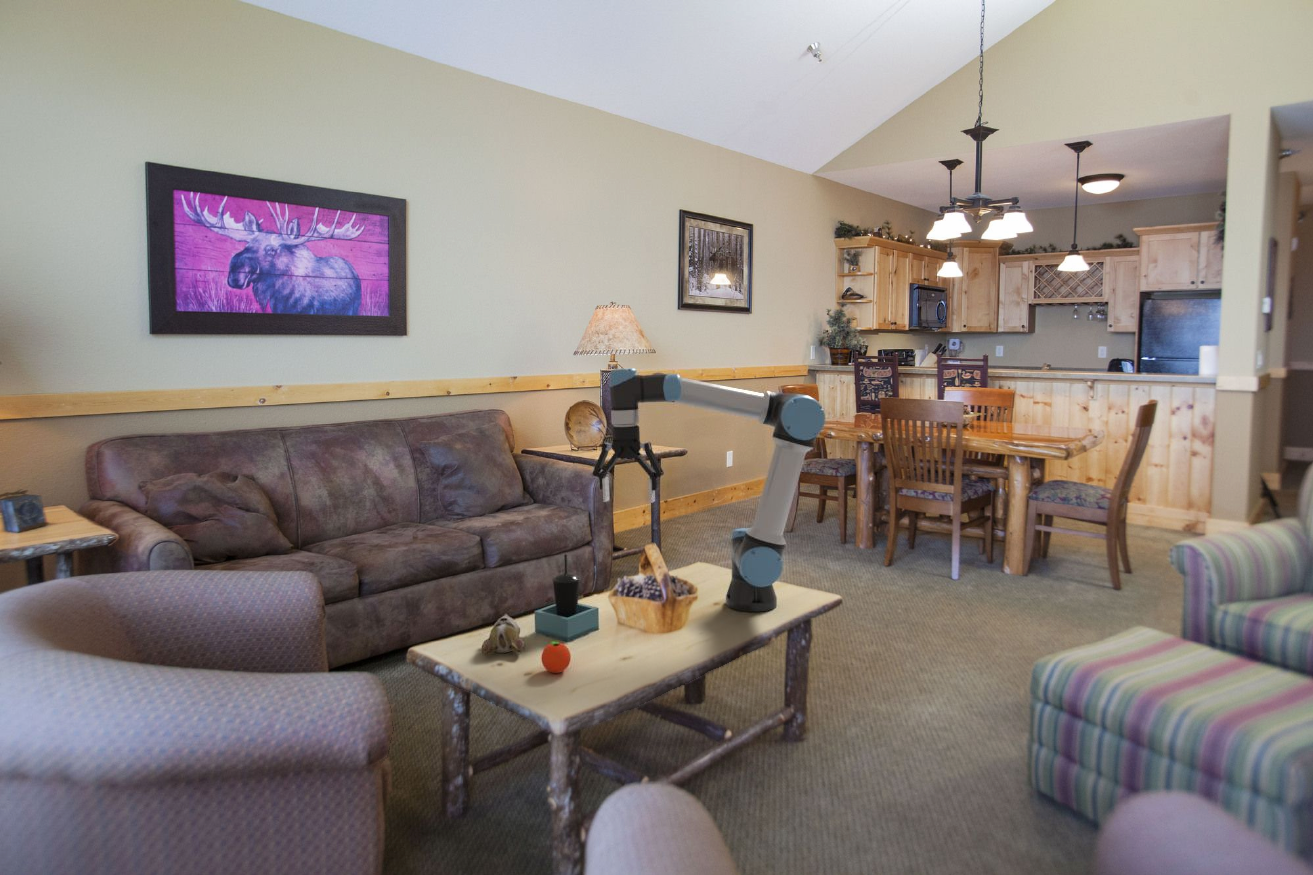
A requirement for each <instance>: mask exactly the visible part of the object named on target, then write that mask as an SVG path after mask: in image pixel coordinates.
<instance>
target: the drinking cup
mask: <svg viewBox="0 0 1313 875" xmlns="http://www.w3.org/2000/svg"><path fill="white" fill-rule="evenodd" d="M563 557H564V561H563V562H564V572H560V573H558V574H557V575H554V576H552V578H551V581H552V582H553V583H552V584H553V585H552V586H553V592H554V604H556V611H557V615H559V616H563V617H566V618H568V617H571V616H573V615H576V614H577V606H578V603H579V590H580V580H581V576H580V575H578V574H575V573H573V572H568V554H564V556H563Z"/></svg>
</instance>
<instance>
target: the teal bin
mask: <svg viewBox="0 0 1313 875" xmlns="http://www.w3.org/2000/svg"><path fill="white" fill-rule="evenodd" d="M599 613H600V612H599V607H597V606H592V605H587V604H585V603H584V604H583V603H579V602H578V606H577V614H576V615H573V616H571V617H568V618H566V617H563V616H559V615H557V611H556V603H554V604H551V605H548V606H545V607H543V608H540V609H537V610H534V633H535V634H538V635H542V636H545V637H549V638H552V639H556V640H559V641H563V642H566V643H570V642H572V641H575V640H577V639H579V638H583V636H586V635H588V634H591V633H594V632H595V631H598V630H600V622H599V619H600V618H599V617H600V616H599V615H600V614H599Z"/></svg>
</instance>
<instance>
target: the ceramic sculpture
mask: <svg viewBox="0 0 1313 875" xmlns="http://www.w3.org/2000/svg"><path fill="white" fill-rule="evenodd" d="M520 634H521V628H520V626H519V625H518V623H517V621H515V620H514V619H513V618H512V617H510V616H509V615H508V614H507V613H505V614H504V615H503V616H501V617H500V618H499V619H497V621H496V622H495V623H494V624H493V627H492V628H491V631H490V634H489V636H488V638H487V639H485V640H484V641H483V643H482V645H481V654H482V655H483V656H489V655H492V654H494V652H497V653H499V654H500V653H503V654H505V653H510V652H513V653H516V654H522V652H524V650H525V645H526V642H525V639H524V638H523V637H520Z"/></svg>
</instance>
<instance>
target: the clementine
mask: <svg viewBox="0 0 1313 875" xmlns="http://www.w3.org/2000/svg"><path fill="white" fill-rule="evenodd" d="M571 656H572V654H571V652H570V649H569V647H567V646H566V645H565V644H564V643H561V642H558V641H551V642H550V643H549V644H548V645H546V646H545V648H544V649H543V650H542V654H541V659H540V660H541V663H542V666H543V668H544V669H545V670H546V671H548V672H550V673H551V674H552V673H553V674H554V673H555V674H557V673H562V672H563V671H565V670H566V669H567V668H568V667H569V665H570V663H571V659H572V658H571Z"/></svg>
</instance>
